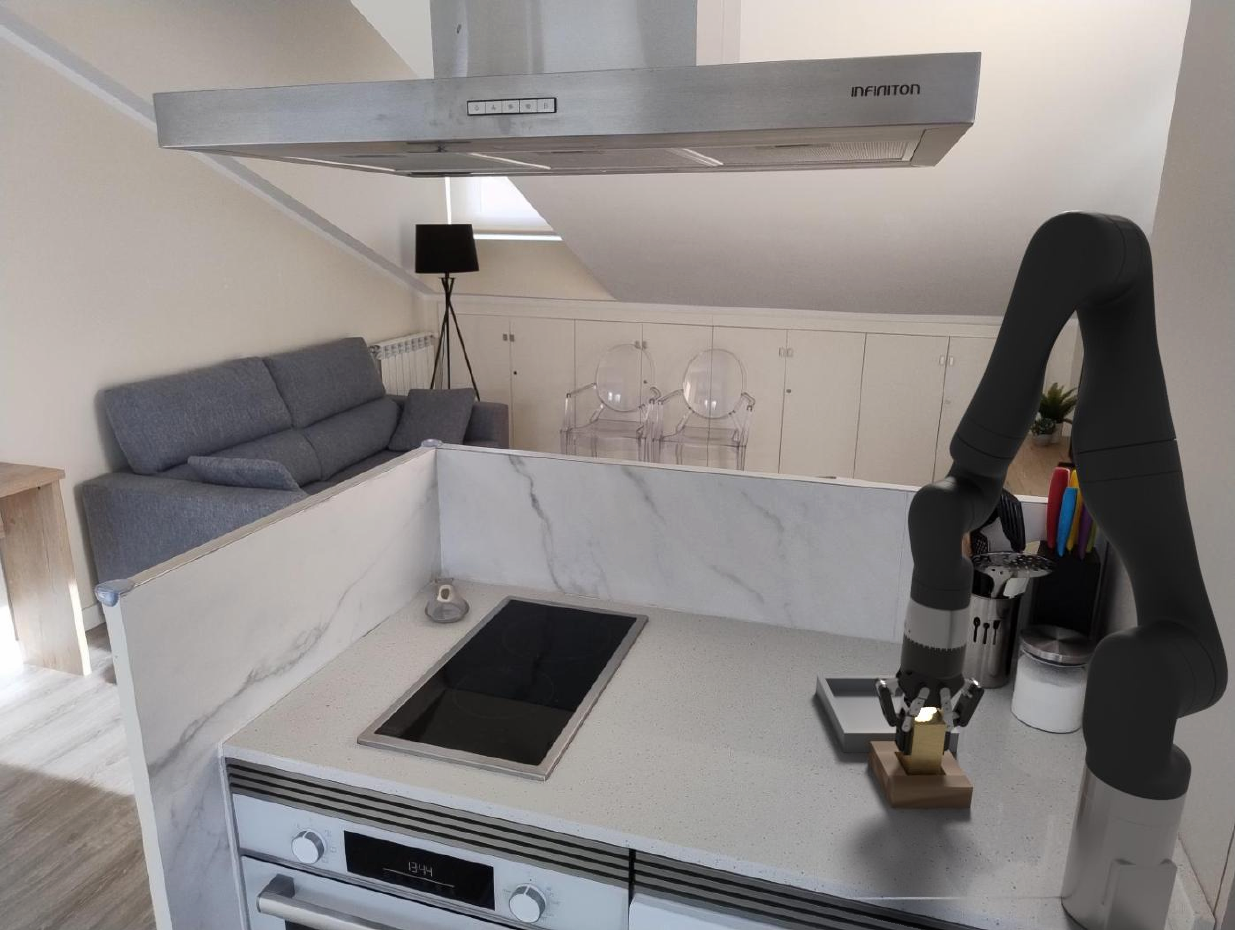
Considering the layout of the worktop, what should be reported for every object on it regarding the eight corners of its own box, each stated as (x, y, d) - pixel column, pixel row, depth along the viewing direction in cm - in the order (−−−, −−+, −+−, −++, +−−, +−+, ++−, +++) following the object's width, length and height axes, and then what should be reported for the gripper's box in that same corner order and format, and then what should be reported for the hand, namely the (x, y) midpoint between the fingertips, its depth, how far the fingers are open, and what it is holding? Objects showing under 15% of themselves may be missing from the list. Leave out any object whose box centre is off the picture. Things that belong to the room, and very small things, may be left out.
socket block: (970, 807, 111) (973, 787, 110) (891, 807, 111) (894, 787, 110) (940, 760, 120) (943, 741, 120) (868, 760, 120) (870, 741, 119)
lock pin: (937, 792, 114) (946, 724, 111) (906, 792, 114) (915, 724, 111) (926, 773, 117) (934, 707, 115) (896, 773, 117) (904, 707, 115)
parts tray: (956, 752, 122) (959, 733, 122) (842, 752, 122) (844, 733, 121) (916, 692, 138) (918, 675, 137) (815, 692, 137) (817, 675, 137)
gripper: (888, 646, 106) (875, 769, 110) (1005, 646, 106) (987, 769, 111) (870, 618, 113) (858, 735, 118) (979, 619, 113) (963, 735, 118)
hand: (920, 751), depth 114 cm, fingers closed on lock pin, 4 cm apart
